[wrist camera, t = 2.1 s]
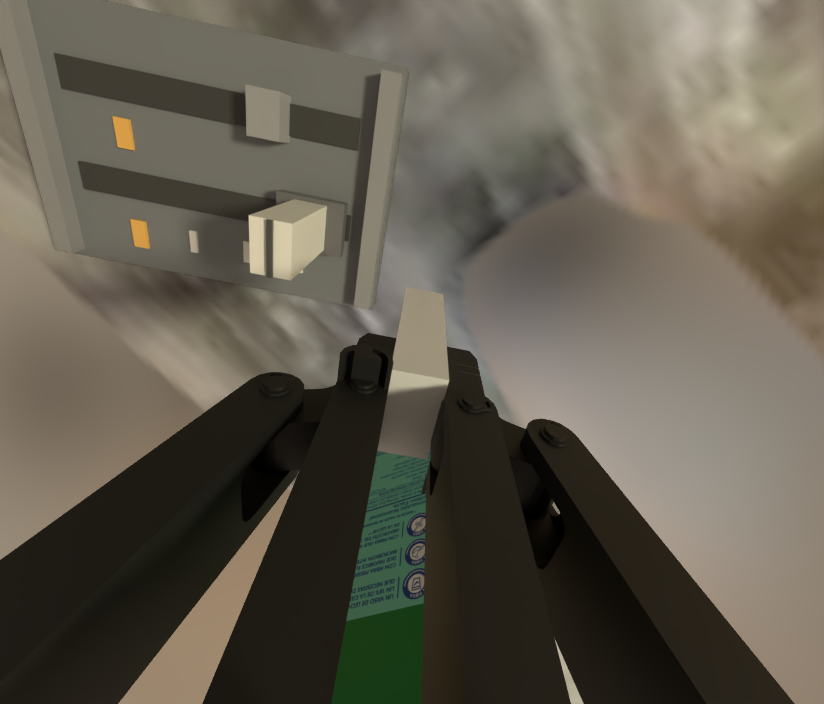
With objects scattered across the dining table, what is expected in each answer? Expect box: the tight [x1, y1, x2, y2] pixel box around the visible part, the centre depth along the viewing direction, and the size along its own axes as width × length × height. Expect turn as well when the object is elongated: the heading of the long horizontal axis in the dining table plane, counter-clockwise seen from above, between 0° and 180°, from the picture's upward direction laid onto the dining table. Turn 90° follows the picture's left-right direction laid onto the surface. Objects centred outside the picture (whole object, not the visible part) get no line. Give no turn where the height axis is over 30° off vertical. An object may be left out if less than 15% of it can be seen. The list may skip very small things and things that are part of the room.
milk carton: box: [331, 448, 431, 704], centre depth 26 cm, size 9×9×25 cm
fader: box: [249, 189, 348, 281], centre depth 23 cm, size 4×5×8 cm
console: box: [0, 0, 409, 310], centre depth 25 cm, size 16×24×4 cm, turn 79°
